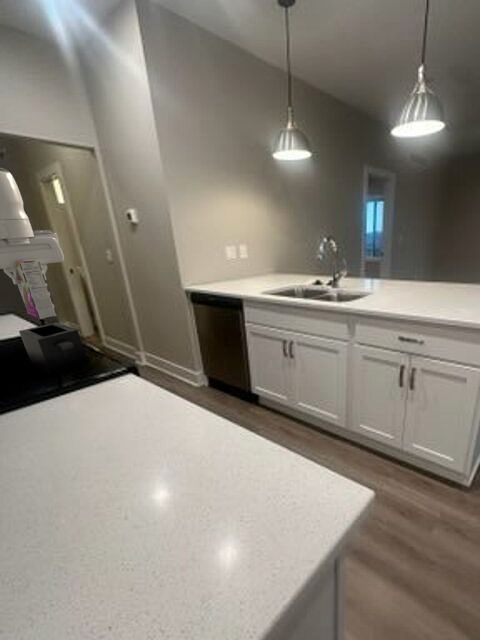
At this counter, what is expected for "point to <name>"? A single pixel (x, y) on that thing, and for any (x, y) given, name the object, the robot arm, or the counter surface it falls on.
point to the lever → (64, 345)
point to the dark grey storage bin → (53, 347)
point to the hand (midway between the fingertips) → (30, 282)
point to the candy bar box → (34, 289)
